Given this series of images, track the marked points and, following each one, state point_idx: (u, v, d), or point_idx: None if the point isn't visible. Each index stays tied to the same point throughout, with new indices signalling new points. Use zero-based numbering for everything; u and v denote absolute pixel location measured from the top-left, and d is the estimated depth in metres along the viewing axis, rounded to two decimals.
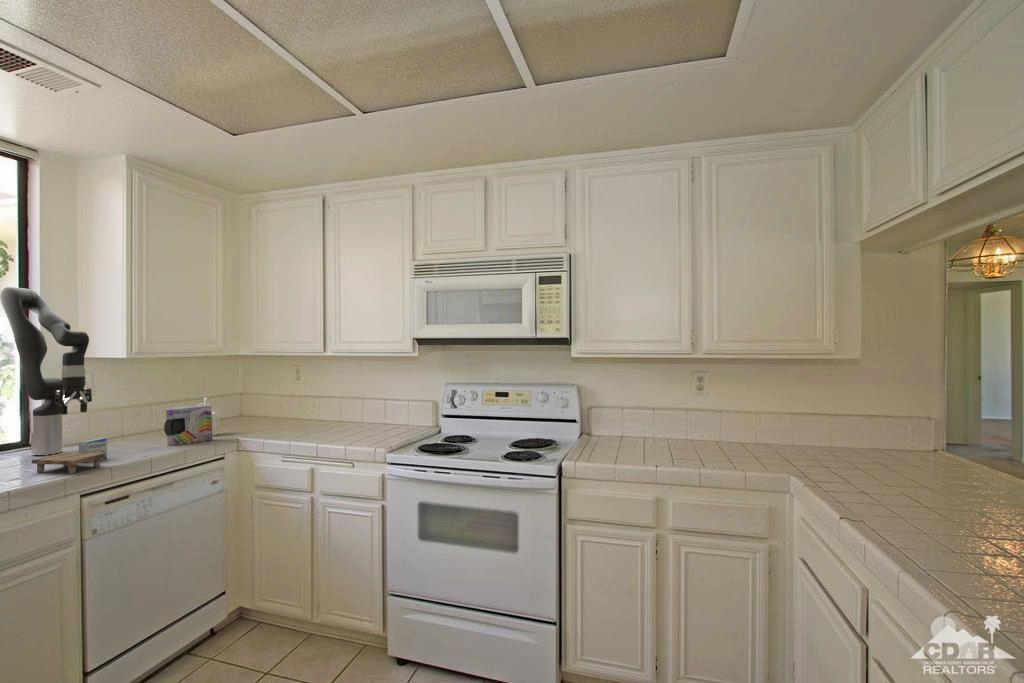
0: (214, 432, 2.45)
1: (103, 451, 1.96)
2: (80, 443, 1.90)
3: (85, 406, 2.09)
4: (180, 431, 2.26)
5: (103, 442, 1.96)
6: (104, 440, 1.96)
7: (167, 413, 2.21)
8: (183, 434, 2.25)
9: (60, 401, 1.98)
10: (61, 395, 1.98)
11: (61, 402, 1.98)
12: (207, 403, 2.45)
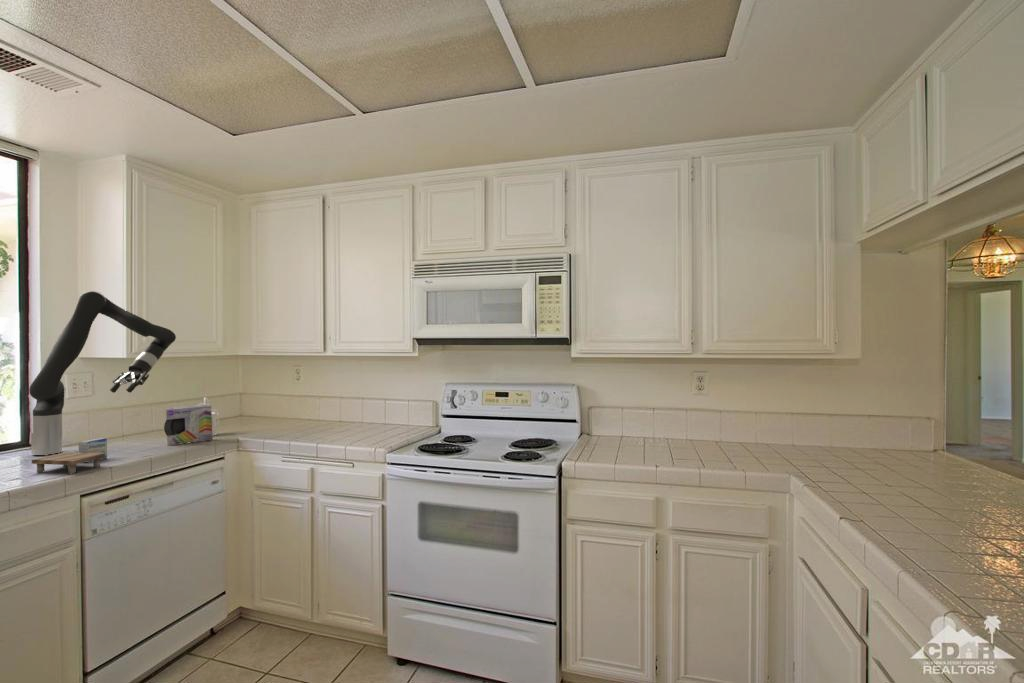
0: (214, 432, 2.45)
1: (103, 451, 1.96)
2: (80, 443, 1.90)
3: None
4: (180, 431, 2.26)
5: (103, 442, 1.96)
6: (104, 440, 1.96)
7: (167, 413, 2.21)
8: (183, 434, 2.25)
9: None
10: None
11: None
12: (207, 403, 2.45)
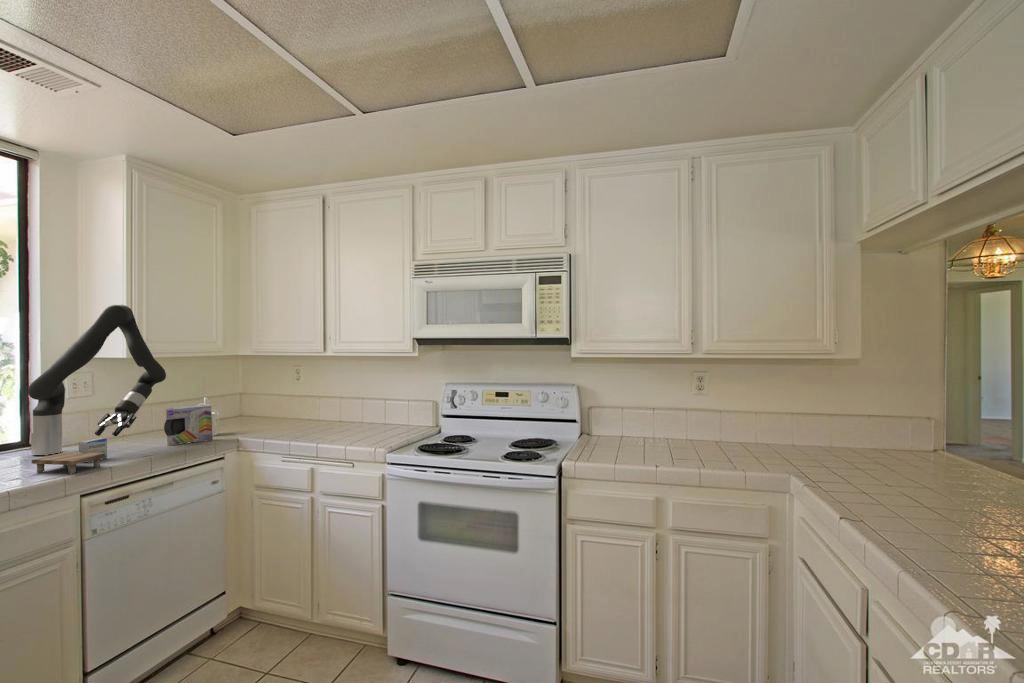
0: (214, 432, 2.45)
1: (103, 451, 1.96)
2: (80, 443, 1.90)
3: None
4: (180, 431, 2.26)
5: (103, 442, 1.96)
6: (104, 440, 1.96)
7: (167, 413, 2.21)
8: (183, 434, 2.25)
9: None
10: None
11: None
12: (207, 403, 2.45)
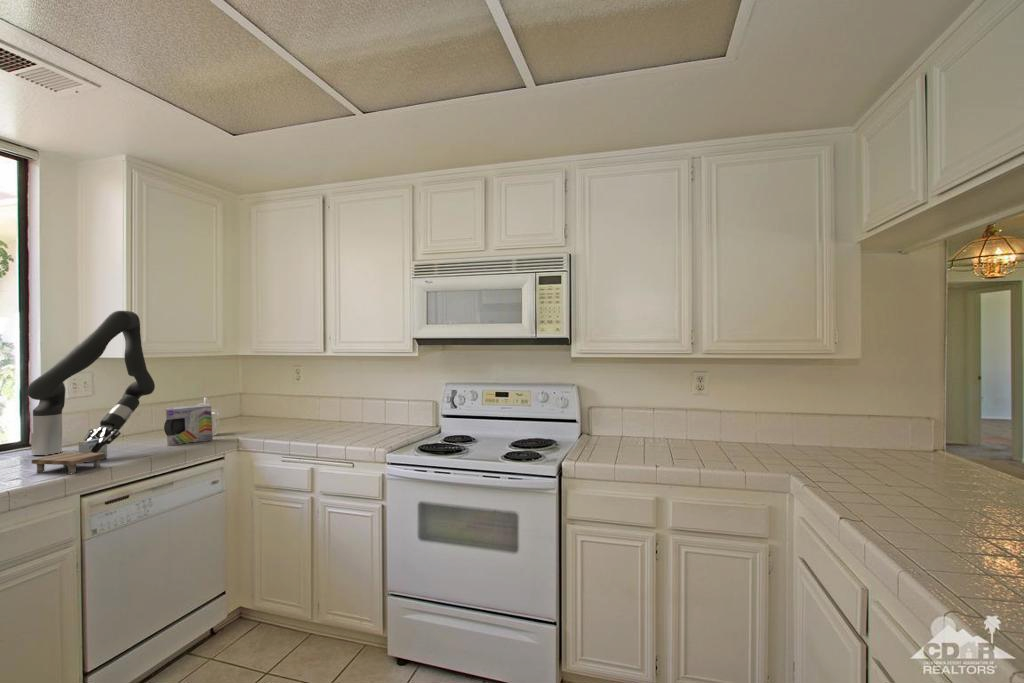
0: (214, 432, 2.45)
1: (103, 451, 1.96)
2: (80, 443, 1.90)
3: None
4: (180, 431, 2.26)
5: None
6: None
7: (167, 413, 2.21)
8: (183, 434, 2.25)
9: None
10: None
11: None
12: (207, 403, 2.45)
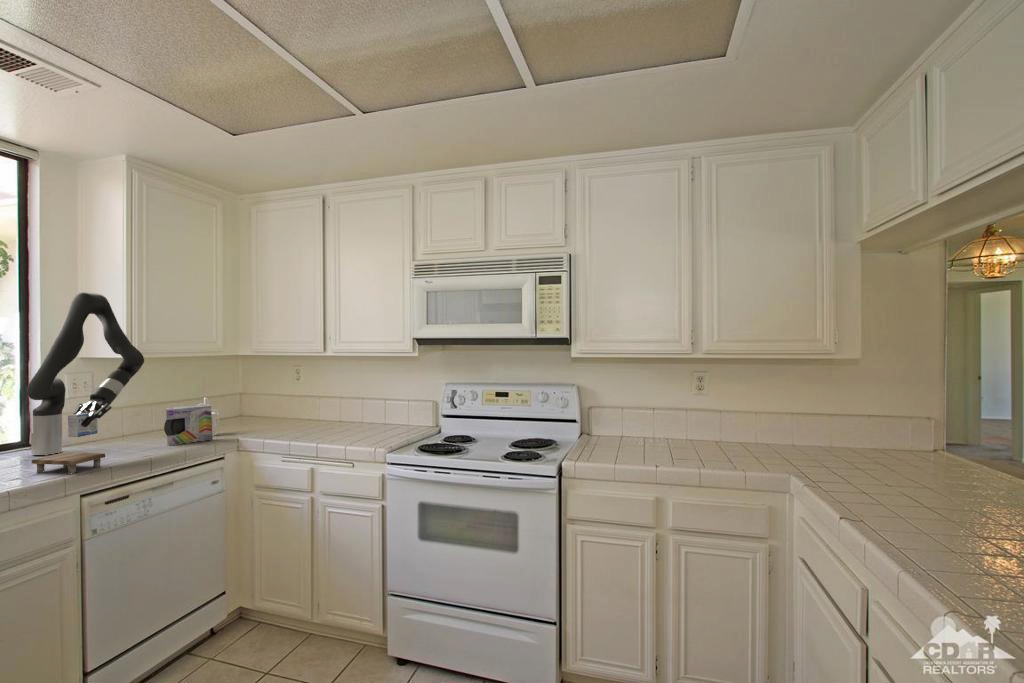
0: (214, 432, 2.45)
1: (93, 425, 1.89)
2: (69, 416, 1.83)
3: None
4: (180, 431, 2.26)
5: None
6: None
7: (167, 413, 2.21)
8: (183, 434, 2.25)
9: None
10: None
11: None
12: (207, 403, 2.45)
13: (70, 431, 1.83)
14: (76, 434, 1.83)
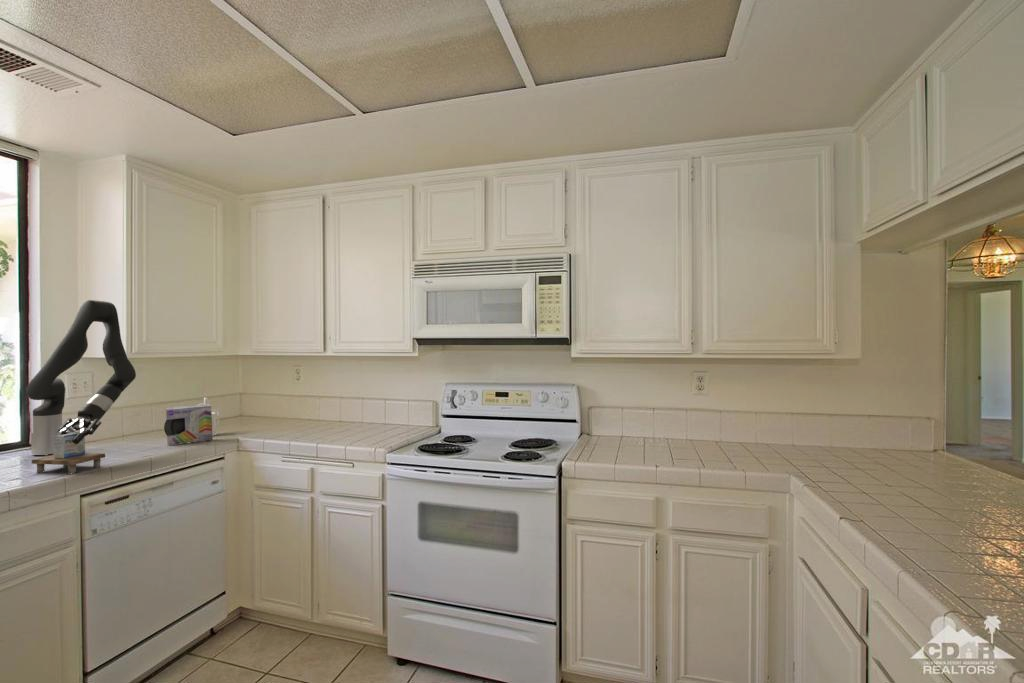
0: (214, 432, 2.45)
1: (81, 446, 1.83)
2: (55, 437, 1.77)
3: None
4: (180, 431, 2.26)
5: None
6: None
7: (167, 413, 2.21)
8: (183, 434, 2.25)
9: None
10: None
11: None
12: (207, 403, 2.45)
13: (56, 453, 1.77)
14: (62, 456, 1.76)
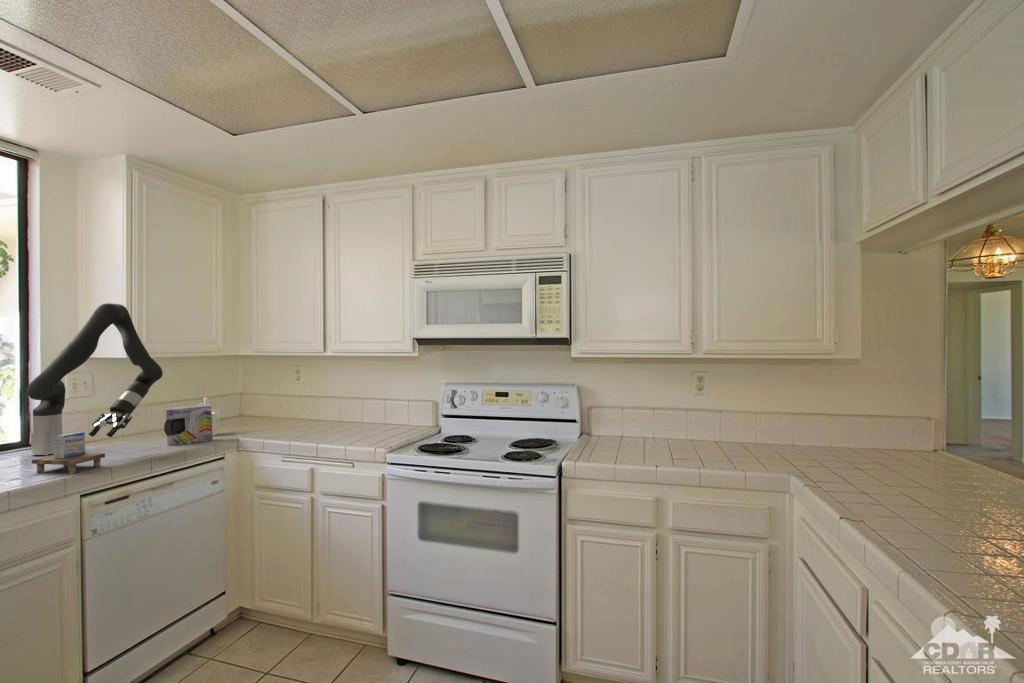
0: (214, 432, 2.45)
1: (81, 446, 1.83)
2: (55, 437, 1.77)
3: None
4: (180, 431, 2.26)
5: (81, 436, 1.83)
6: (82, 434, 1.83)
7: (167, 413, 2.21)
8: (183, 434, 2.25)
9: None
10: None
11: None
12: (207, 403, 2.45)
13: (56, 453, 1.77)
14: (62, 456, 1.76)
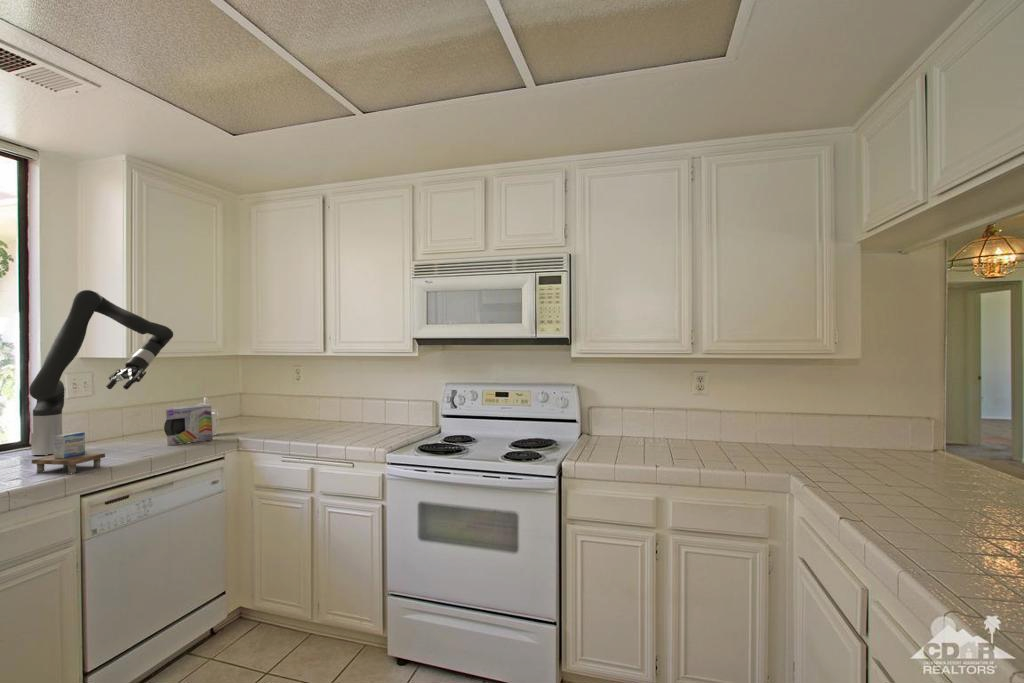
0: (214, 432, 2.45)
1: (81, 446, 1.83)
2: (55, 437, 1.77)
3: None
4: (180, 431, 2.26)
5: (81, 436, 1.83)
6: (82, 434, 1.83)
7: (167, 413, 2.21)
8: (183, 434, 2.25)
9: None
10: None
11: None
12: (207, 403, 2.45)
13: (56, 453, 1.77)
14: (62, 456, 1.76)
